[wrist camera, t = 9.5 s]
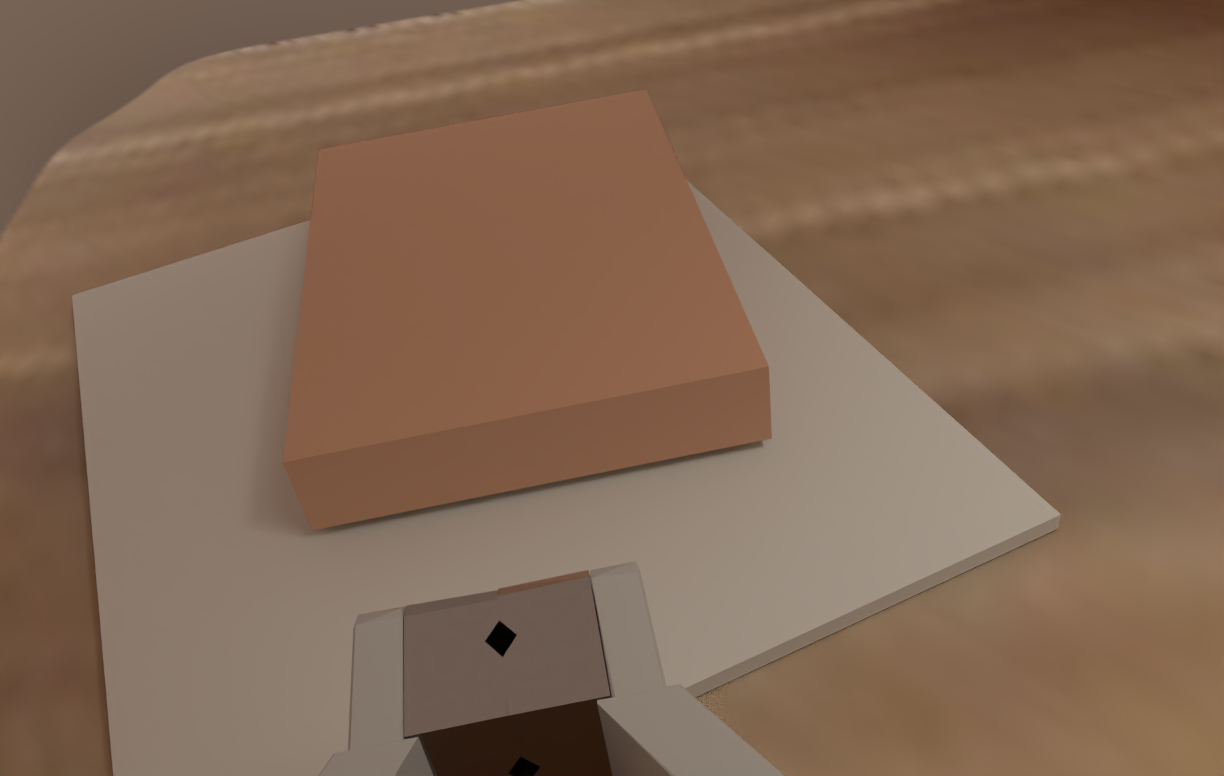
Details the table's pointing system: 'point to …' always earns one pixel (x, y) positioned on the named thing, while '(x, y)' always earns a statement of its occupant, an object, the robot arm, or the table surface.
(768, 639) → the mat
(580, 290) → the tile
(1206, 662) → the table surface
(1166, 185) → the table surface
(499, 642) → the robot arm
